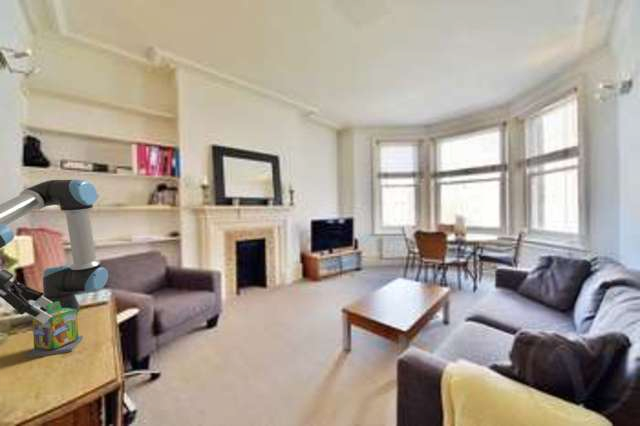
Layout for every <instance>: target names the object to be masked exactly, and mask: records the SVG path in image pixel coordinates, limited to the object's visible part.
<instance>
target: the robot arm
mask: <svg viewBox="0 0 640 426" xmlns="http://www.w3.org/2000/svg"><path fill="white" fill-rule="evenodd" d="M97 199H98V191H97V189H96V187H95V185H94V184H92V183H91V182H90V181H88V180H86V179H85V180H83V179H50V180H45V181H42V182H40V183H38V184H35V185H32V186H30V187H28V188H25V189H24V190H21V192H20V193H19V195H17V196H16V197H13V198H11V199H10V200H7V201H5V202H3V203H1V204H0V249H1V248H3V247H5V246H7V245H8V244H9V243H10V242H12V241H13V240H14V238H15V234H14V233H15V232H13V229H12V228H10V227H9V226H7V225H9V224H11V223H13V222H14V221H16V220H18V219H19V218H22V217H23V216H25V215H27V214H29V213H31V212H33V211H35V210H36V211H38V210H39V211H40V210H41V209H43V208H45V207H50V206H59V208H60V211H61V212H63V213H64V214H65V218H66V224H67V230H68V236H69V242H70V248H71V249H70V250H71V255H72V257H71V258H72V262H73V263H71V264H70V263H69V264H64V265H58V266H52V267H48V268H45V269H44V271H43V274H42V275H43V277H42V286H43V287H42V291H43V292H42V291H38V290H36V289H34V288H32V287H29V286H27V285H25V284H23V283H21V282H19V281H18V280H15V279H14V280H13V281H11V279H12V278H14V274H13V273H11V272H10V271H8V270H7V269H2V266H0V298H1V299H3V300H4V302H6V303H8V304H9V305H10V306H11V307H12V308H13V309H14V310H16V311H17V312H18V314H20V315H22V316H23V315H24V314H26V315H27V316H30V317H31V318H32V317H33V318H35V319H37V320H38V321H40V322H42V323H43V324H44V323H46V322H47V321H48V320H49V319H50V318H51V317H52V316H50V315H49V314H47V313H45V312H46V311H47V310H46V305H48V304H51V303H54V302H57V301H59V302H60V305H61V308H70V309H77V313H78V312H79V311H80V304H79V302H78V299H77V297H76V293H96V292H99V291H101V290H102V289H103V288H104V287H105V285H106V284H107V282H108V279H109V271H108V269H106V268H105V267H102V265H101V261H100V260H98V259H96V258H97V257H96V250H95V243H94V236H93V235H94V234H93V229H92V222H91V215H90V212H91V210H92V209H93V207H94V206H93V205H94V204H95V203H96V202H97ZM27 299H28V300H31V301H34V305H32V304H31V303H30V302H29V301H28V300H27ZM35 304H37V305H38V306H40V307H37V306H35ZM55 308H57V306H52V307H51V310H52V309H55Z"/></svg>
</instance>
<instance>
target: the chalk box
mask: <svg viewBox="0 0 640 426" xmlns="http://www.w3.org/2000/svg"><path fill="white" fill-rule="evenodd" d="M52 306H57V308H55V309H52V310H51V307H52ZM46 310H47V311H46V312H45V313H47V314H49V315H50V316H52V317H51V318H50V319H49V320H48V321H47V322H46V323H44V324H43V323H42V322H40V321H38V320H37V319H35V318H33V317H31V318H32V332H33V347H34V348H39V349H49V350H55V349H57V348H59V347H61V346H63V345H66V344H68V343H70V342H73V341H75V340H77V339H78V336H79V320H78V312H77V309H70V308H61V305H60V302H59V301H57V302H54V303H51V304H48V305H46ZM34 348H33V349H34Z"/></svg>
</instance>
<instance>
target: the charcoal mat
mask: <svg viewBox="0 0 640 426" xmlns="http://www.w3.org/2000/svg"><path fill="white" fill-rule="evenodd" d="M83 340H84V336H83V335H78V339H77V340H75V341H73V342H70V343H68V344H66V345H63V346H61V347H59V348H57V349H55V350H49V349H39V348H32V350H30V351H29V352H28V353H27V354H26V359H31V358H39V357H44V356H52V355H59V354H65V353H72V352H73V351H74V349H75V348H76V347H77V346H79V345H78V344H80V343H81V342H82V341H83Z"/></svg>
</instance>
